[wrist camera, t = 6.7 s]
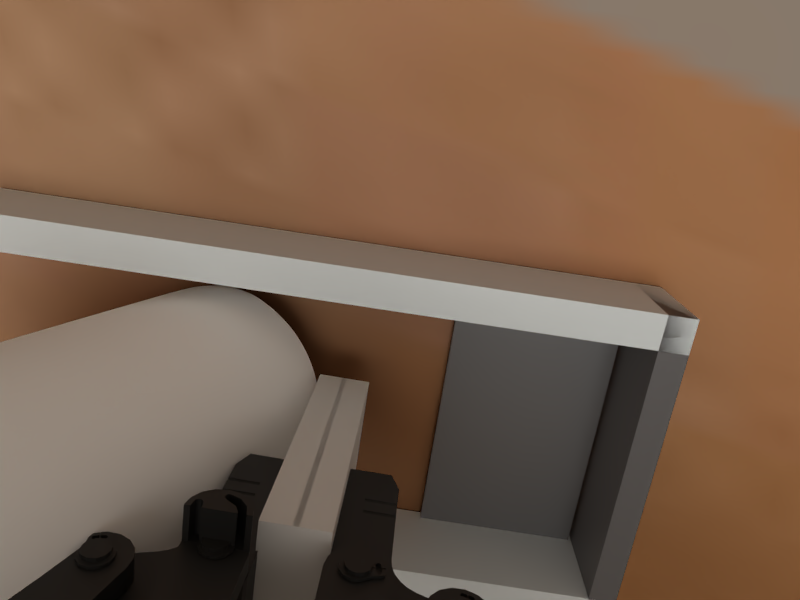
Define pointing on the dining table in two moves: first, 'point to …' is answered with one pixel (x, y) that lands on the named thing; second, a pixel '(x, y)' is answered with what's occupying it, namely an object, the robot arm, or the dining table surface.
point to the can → (138, 420)
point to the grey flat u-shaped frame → (455, 383)
